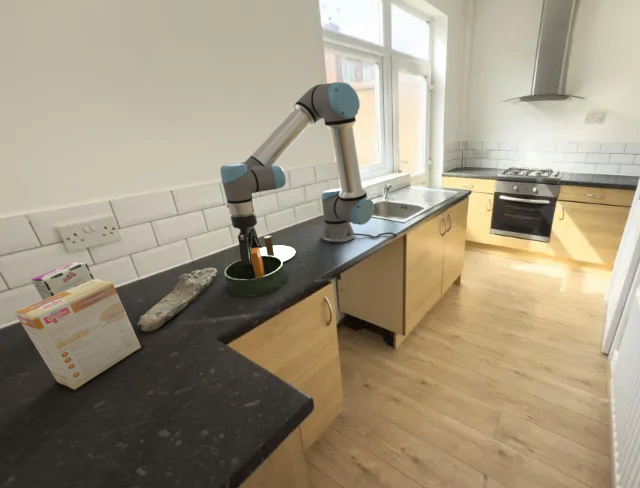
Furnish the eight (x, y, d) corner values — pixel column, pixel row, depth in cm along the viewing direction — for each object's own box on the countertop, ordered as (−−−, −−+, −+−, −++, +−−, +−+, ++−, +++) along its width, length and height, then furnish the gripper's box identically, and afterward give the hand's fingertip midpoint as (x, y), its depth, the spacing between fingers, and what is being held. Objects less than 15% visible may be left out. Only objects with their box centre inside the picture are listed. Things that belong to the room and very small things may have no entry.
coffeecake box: (124, 341, 85) (95, 277, 77) (142, 347, 83) (114, 282, 75) (55, 382, 72) (12, 311, 64) (74, 391, 70) (31, 317, 62)
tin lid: (297, 246, 144) (294, 226, 140) (294, 265, 126) (291, 243, 122) (250, 250, 140) (246, 230, 137) (241, 270, 122) (236, 248, 119)
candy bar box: (96, 307, 101) (73, 260, 94) (109, 308, 100) (87, 261, 93) (57, 329, 91) (29, 278, 84) (71, 330, 90) (44, 280, 83)
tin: (287, 268, 123) (284, 253, 120) (282, 293, 106) (279, 276, 103) (235, 273, 120) (231, 258, 117) (222, 300, 103) (217, 282, 100)
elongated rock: (129, 336, 89) (164, 338, 89) (123, 321, 87) (158, 323, 86) (199, 272, 120) (225, 273, 120) (195, 260, 118) (222, 261, 117)
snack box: (265, 277, 115) (259, 247, 111) (263, 284, 111) (257, 253, 106) (251, 279, 115) (244, 248, 110) (248, 285, 110) (241, 254, 105)
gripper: (238, 204, 113) (250, 259, 122) (220, 226, 91) (236, 291, 100) (260, 203, 114) (271, 257, 123) (247, 224, 92) (261, 288, 101)
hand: (255, 273), depth 111 cm, fingers open, 12 cm apart
